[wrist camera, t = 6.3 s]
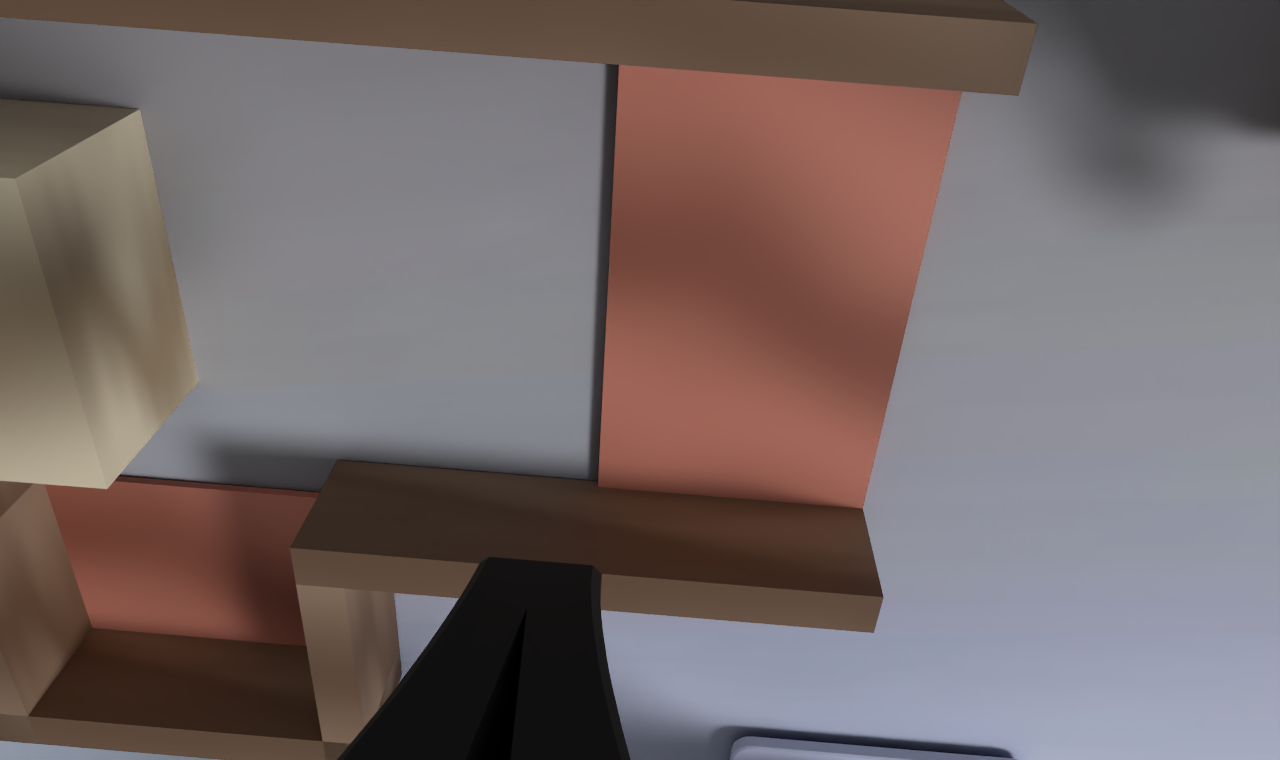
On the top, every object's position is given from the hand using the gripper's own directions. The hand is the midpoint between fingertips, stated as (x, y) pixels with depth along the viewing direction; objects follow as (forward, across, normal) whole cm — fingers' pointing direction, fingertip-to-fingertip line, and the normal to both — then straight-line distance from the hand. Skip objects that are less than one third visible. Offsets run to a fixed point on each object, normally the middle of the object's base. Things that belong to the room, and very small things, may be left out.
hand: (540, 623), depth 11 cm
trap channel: (+9, +5, +3) cm, 11 cm away
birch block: (+9, +12, 0) cm, 15 cm away
